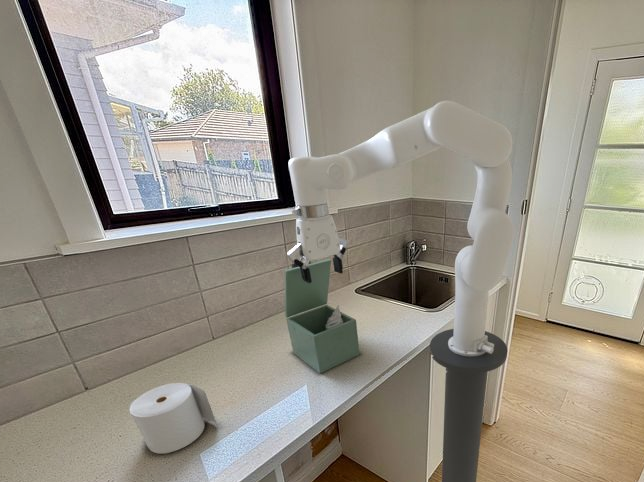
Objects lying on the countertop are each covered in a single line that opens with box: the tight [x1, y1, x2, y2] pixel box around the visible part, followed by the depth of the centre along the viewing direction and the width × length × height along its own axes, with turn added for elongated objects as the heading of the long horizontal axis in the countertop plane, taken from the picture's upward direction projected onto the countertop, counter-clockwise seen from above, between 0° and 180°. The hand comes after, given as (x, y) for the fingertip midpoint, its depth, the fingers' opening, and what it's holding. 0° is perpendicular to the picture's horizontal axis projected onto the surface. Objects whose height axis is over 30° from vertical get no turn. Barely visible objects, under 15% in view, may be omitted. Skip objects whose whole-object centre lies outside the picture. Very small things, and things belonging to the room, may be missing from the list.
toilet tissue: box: [129, 382, 218, 455], centre depth 71 cm, size 11×12×10 cm
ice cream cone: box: [325, 304, 343, 330], centre depth 99 cm, size 5×5×15 cm
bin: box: [285, 304, 360, 374], centre depth 99 cm, size 16×14×12 cm
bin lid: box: [284, 258, 332, 319], centre depth 97 cm, size 16×14×5 cm
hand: (323, 276), depth 91 cm, fingers open, 9 cm apart
